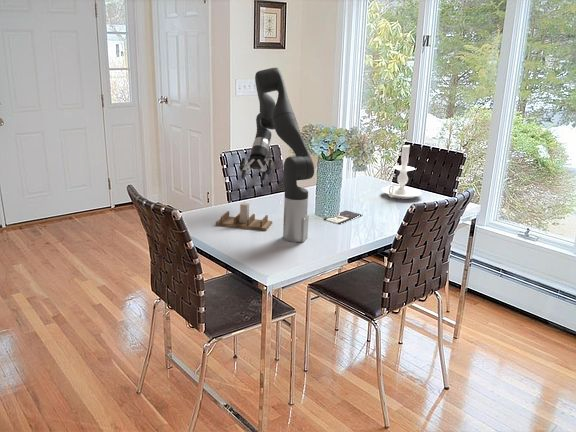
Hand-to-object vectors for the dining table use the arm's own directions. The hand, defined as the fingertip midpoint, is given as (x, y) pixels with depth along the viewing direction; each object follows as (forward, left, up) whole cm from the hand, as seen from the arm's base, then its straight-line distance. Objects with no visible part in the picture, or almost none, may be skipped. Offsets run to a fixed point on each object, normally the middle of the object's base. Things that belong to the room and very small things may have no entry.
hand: (252, 179), depth 231 cm
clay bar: (-1, +12, -16) cm, 20 cm away
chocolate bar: (-38, -15, -18) cm, 45 cm away
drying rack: (-1, +12, -17) cm, 21 cm away
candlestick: (-58, -62, -17) cm, 87 cm away
